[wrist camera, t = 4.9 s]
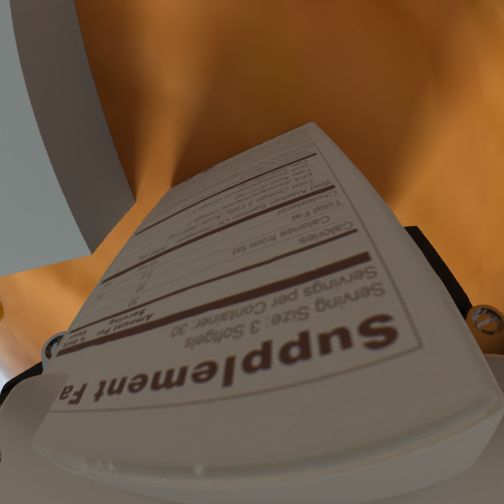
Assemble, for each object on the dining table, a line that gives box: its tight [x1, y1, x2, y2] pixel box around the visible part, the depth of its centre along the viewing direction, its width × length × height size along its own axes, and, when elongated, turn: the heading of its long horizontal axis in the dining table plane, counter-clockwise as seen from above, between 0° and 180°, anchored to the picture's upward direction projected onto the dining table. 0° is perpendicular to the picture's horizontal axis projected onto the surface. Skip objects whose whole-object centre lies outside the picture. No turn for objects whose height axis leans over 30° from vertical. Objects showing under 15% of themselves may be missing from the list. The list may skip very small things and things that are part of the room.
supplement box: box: [33, 122, 504, 504], centre depth 9 cm, size 7×7×13 cm
